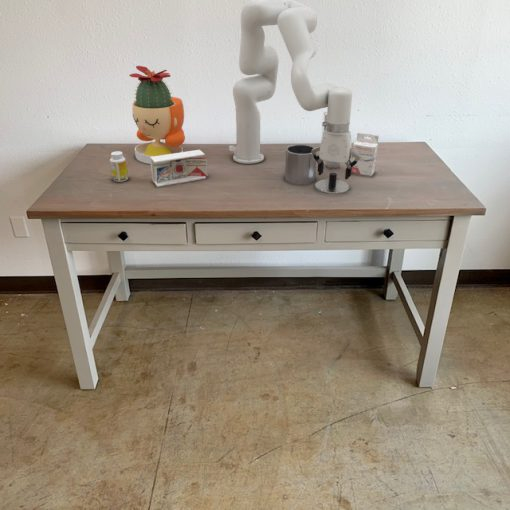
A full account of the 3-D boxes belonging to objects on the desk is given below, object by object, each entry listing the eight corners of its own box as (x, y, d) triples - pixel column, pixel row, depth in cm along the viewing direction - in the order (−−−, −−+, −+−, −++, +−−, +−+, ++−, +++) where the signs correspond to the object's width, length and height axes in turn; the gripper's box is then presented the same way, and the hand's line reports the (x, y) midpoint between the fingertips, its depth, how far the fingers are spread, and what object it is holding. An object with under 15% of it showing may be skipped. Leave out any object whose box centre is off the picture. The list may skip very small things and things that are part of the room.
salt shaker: (339, 170, 186) (342, 137, 179) (324, 169, 187) (327, 136, 180) (340, 165, 191) (343, 133, 184) (325, 164, 192) (328, 132, 185)
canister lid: (310, 191, 169) (310, 176, 166) (321, 180, 178) (322, 165, 175) (343, 198, 164) (344, 182, 161) (353, 185, 173) (354, 171, 170)
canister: (280, 181, 176) (281, 151, 170) (291, 172, 185) (293, 142, 179) (308, 187, 172) (310, 156, 166) (318, 176, 181) (321, 147, 175)
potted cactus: (166, 168, 188) (157, 73, 170) (124, 157, 198) (111, 67, 180) (199, 152, 204) (194, 64, 186) (159, 143, 214) (151, 59, 196)
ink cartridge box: (349, 173, 183) (353, 135, 176) (352, 169, 187) (356, 132, 179) (371, 177, 180) (376, 138, 172) (374, 173, 184) (379, 135, 176)
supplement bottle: (130, 176, 180) (126, 150, 175) (126, 182, 176) (122, 155, 170) (115, 176, 181) (111, 150, 175) (111, 182, 176) (106, 155, 170)
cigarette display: (156, 187, 172) (153, 161, 167) (152, 181, 177) (149, 156, 172) (209, 177, 180) (208, 153, 175) (204, 172, 184) (202, 149, 179)
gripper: (309, 127, 160) (306, 175, 169) (360, 133, 153) (354, 183, 162) (316, 121, 166) (314, 168, 175) (366, 127, 159) (361, 176, 168)
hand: (333, 176), depth 168 cm, fingers open, 9 cm apart
